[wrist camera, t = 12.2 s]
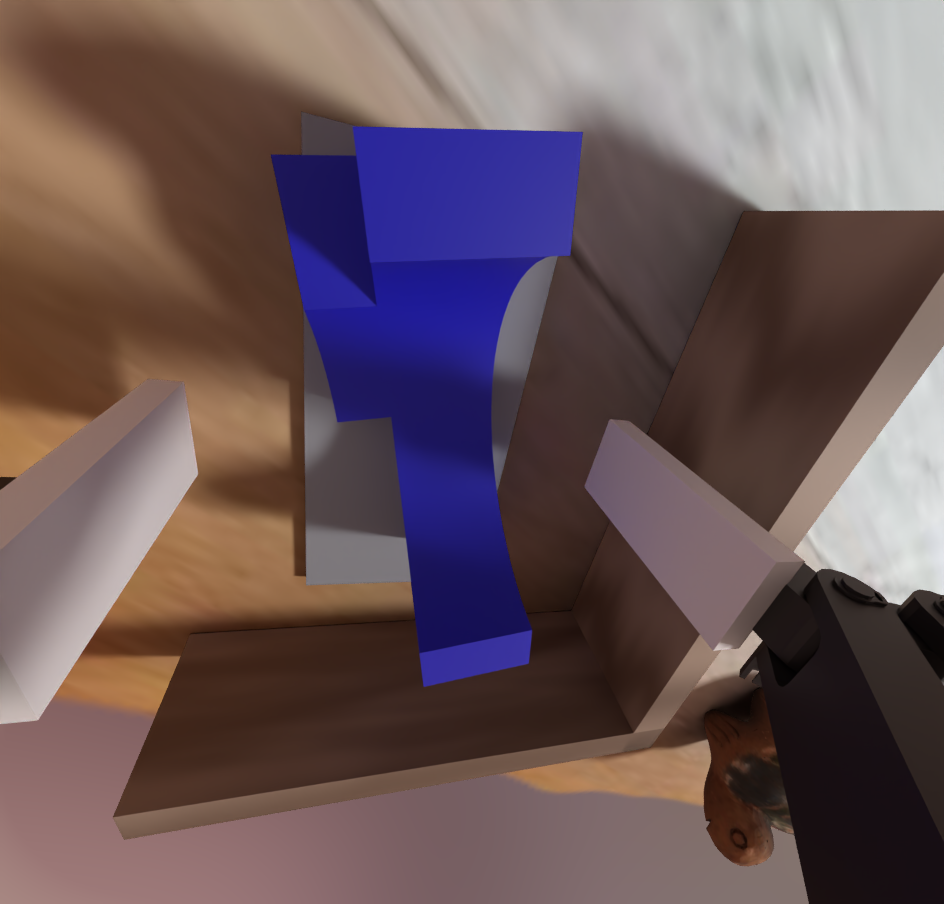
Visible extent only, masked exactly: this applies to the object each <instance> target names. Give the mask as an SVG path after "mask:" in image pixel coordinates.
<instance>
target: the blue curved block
mask: <svg viewBox="0 0 944 904" xmlns="http://www.w3.org/2000/svg"><path fill="white" fill-rule="evenodd" d="M353 134H354V141H355V149H356V156H353V155H271V158H272V163H273V167H274V172H275V177H276V181H277V186H278V191H279V196H280V200H281V205H282V210H283V214H284V219H285V224H286V228H287V233H288V238H289V242H290V247H291V252H292V256H293V261H294V266H295V270H296V275H297V280H298V284H299V289H300V294H301V298H302V303H303V308H304V311H305V314H306V316H307V318H308V321H309V323H310V326H311V328H312V331H313V334H314V337H315V339H316V342H317V345H318V348H319V351H320V355H321V358H322V361H323V365H324V368H325V372H326V376H327V379H328V383H329V387H330V391H331V396H332V400H333V404H334V409H335V413H336V418H337V423H338V422H347V421H357V420H367V419H377V418H387V417H391V420H392V428H393V437H394V445H395V453H396V461H397V469H398V477H399V486H400V494H401V502H402V510H403V519H404V527H405V535H406V544H407V552H408V560H409V569H410V577H411V586H412V594H413V603H414V611H415V620H416V628H417V637H418V646H419V654H420V662H421V670H422V678H423V686H424V687H426V686H430V685H435V684H439V683H444V682H448V681H453V680H457V679H462V678H466V677H471V676H475V675H480V674H484V673H489V672H493V671H498V670H502V669H507V668H511V667H516V666H520V665H525V664H529V656H530V647H531V637H532V628H531V626H530V623H529V620H528V618H527V615H526V612H525V609H524V606H523V603H522V600H521V597H520V594H519V590H518V587H517V584H516V580H515V577H514V573H513V570H512V566H511V562H510V558H509V554H508V549H507V545H506V540H505V536H504V531H503V526H502V521H501V515H500V509H499V503H498V496H497V489H496V481H495V472H494V461H493V448H492V422H491V406H492V382H493V370H494V362H495V354H496V348H497V342H498V338H499V333H500V328H501V325H502V321H503V318H504V314H505V311H506V309H507V306H508V303H509V301H510V298H511V296H512V294H513V292H514V290H515V288H516V286H517V285H518V283H519V281H520V280H521V278H522V277H523V276H524V275H525V273H526V272H527V271H528V270H529V269H530V268H531V267H532V266H533V265H535V264H536V263H537V262H539V261H541V260H542V259H544V258H546V257H550V256H570V253H571V243H572V233H573V223H574V213H575V203H576V194H577V184H578V174H579V164H580V154H581V144H582V135H583V132H562V131H520V130H478V129H437V128H395V127H354V126H353Z"/></svg>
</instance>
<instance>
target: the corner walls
mask: <svg viewBox="0 0 944 904" xmlns="http://www.w3.org/2000/svg"><path fill="white" fill-rule="evenodd" d="M943 346H944V211H744V212H743V214H742V216H741V219H740V221H739V223H738V226H737V228H736V230H735V233H734V235H733V237H732V240H731V242H730V244H729V246H728V249H727V251H726V253H725V256H724V258H723V260H722V263H721V265H720V267H719V270H718V272H717V274H716V277H715V279H714V281H713V284H712V286H711V288H710V291H709V293H708V295H707V297H706V300H705V302H704V304H703V307H702V309H701V311H700V314H699V316H698V318H697V321H696V323H695V325H694V328H693V330H692V332H691V335H690V337H689V339H688V342H687V344H686V346H685V348H684V351H683V353H682V355H681V358H680V360H679V362H678V365H677V367H676V369H675V372H674V374H673V376H672V379H671V381H670V383H669V386H668V388H667V390H666V393H665V395H664V397H663V399H662V402H661V404H660V406H659V409H658V411H657V413H656V416H655V418H654V420H653V423H652V425H651V427H650V430H649V432H648V434H647V436H649V437H650V438H651V439H652V440H654V441H655V442H656V443H657V444H659V445H660V446H661V447H662V448H664V449H665V450H666V451H667V452H669V453H670V454H671V455H672V456H674V457H675V458H676V459H677V460H679V461H680V462H681V463H682V464H684V465H685V466H686V467H687V468H689V469H690V470H691V471H692V472H694V473H695V474H696V475H697V476H699V477H700V478H701V479H702V480H704V481H705V482H706V483H707V484H709V485H710V486H711V487H712V488H714V489H715V490H716V491H717V492H719V493H720V494H721V495H722V496H724V497H725V498H726V499H727V500H729V501H730V502H731V503H732V504H734V505H735V506H736V507H737V508H739V509H740V510H741V511H742V512H744V513H745V514H746V515H747V516H749V517H750V518H751V519H752V520H754V521H755V522H756V523H758V524H759V525H760V526H761V527H763V528H764V529H765V530H766V531H768V532H769V533H770V534H771V535H773V536H774V537H775V538H776V539H778V540H779V541H780V542H781V543H783V544H784V545H785V546H786V547H788V548H789V549H790V550H791V551H794V550H795V549H796V547H797V546H798V544H799V543H800V542H801V540H802V539H803V538H804V536H805V535H806V533H807V532H808V531H809V529H810V528H811V527H812V525H813V524H814V522H815V521H816V520H817V518H818V517H819V516H820V514H821V513H822V512H823V510H824V509H825V507H826V506H827V505H828V503H829V502H830V501H831V499H832V498H833V496H834V495H835V494H836V492H837V491H838V490H839V488H840V487H841V485H842V484H843V483H844V481H845V480H846V479H847V477H848V476H849V475H850V473H851V472H852V470H853V469H854V468H855V466H856V465H857V464H858V462H859V461H860V459H861V458H862V457H863V455H864V454H865V453H866V451H867V450H868V448H869V447H870V446H871V444H872V443H873V442H874V440H875V439H876V437H877V436H878V435H879V433H880V432H881V431H882V429H883V428H884V427H885V425H886V424H887V422H888V421H889V420H890V418H891V417H892V416H893V414H894V413H895V411H896V410H897V409H898V407H899V406H900V405H901V403H902V402H903V400H904V399H905V398H906V396H907V395H908V394H909V392H910V391H911V390H912V388H913V387H914V385H915V384H916V383H917V381H918V380H919V379H920V377H921V376H922V374H923V373H924V372H925V370H926V369H927V368H928V366H929V365H930V363H931V362H932V361H933V359H934V358H935V357H936V355H937V354H938V353H939V351H940V350H941V348H942V347H943ZM526 615H527V618H528V620H529V623H530V626H531V628H532V637H531V647H530V656H529V664H525V665H520V666H516V667H511V668H507V669H502V670H498V671H493V672H489V673H484V674H480V675H475V676H471V677H466V678H462V679H457V680H453V681H448V682H444V683H439V684H435V685H430V686H426V687H424V686H423V678H422V670H421V662H420V654H419V646H418V637H417V628H416V620H412V621H396V622H379V623H363V624H347V625H330V626H314V627H297V628H281V629H265V630H248V631H232V632H215V633H199V634H190V636H189V638H188V641H187V643H186V645H185V648H184V650H183V652H182V655H181V657H180V660H179V662H178V664H177V667H176V669H175V671H174V674H173V676H172V678H171V681H170V683H169V686H168V688H167V690H166V693H165V695H164V697H163V700H162V702H161V704H160V707H159V709H158V712H157V714H156V716H155V719H154V721H153V724H152V726H151V728H150V731H149V733H148V735H147V738H146V740H145V742H144V745H143V747H142V749H141V752H140V754H139V757H138V759H137V761H136V764H135V766H134V769H133V771H132V773H131V776H130V778H129V780H128V783H127V785H126V788H125V790H124V792H123V794H122V797H121V799H120V802H119V804H118V806H117V809H116V811H115V813H114V816H113V819H114V821H115V823H116V825H117V827H118V829H119V831H120V833H121V834H122V837H123V838H124V840H125V839H131V838H137V837H142V836H147V835H154V834H159V833H165V832H171V831H177V830H182V829H188V828H194V827H199V826H205V825H211V824H216V823H222V822H228V821H234V820H239V819H245V818H251V817H256V816H262V815H268V814H273V813H279V812H285V811H291V810H296V809H301V808H308V807H313V806H319V805H325V804H330V803H336V802H342V801H347V800H353V799H359V798H365V797H370V796H376V795H381V794H387V793H393V792H398V791H405V790H410V789H416V788H422V787H427V786H433V785H439V784H444V783H450V782H456V781H461V780H467V779H473V778H479V777H484V776H490V775H496V774H501V773H507V772H513V771H519V770H524V769H530V768H536V767H541V766H547V765H553V764H558V763H564V762H570V761H576V760H581V759H587V758H593V757H598V756H604V755H610V754H615V753H621V752H627V751H633V750H638V749H644V748H650V747H651V746H652V745H653V743H654V742H655V740H656V739H657V738H658V736H659V735H660V734H661V732H662V731H663V729H664V728H665V727H666V725H667V724H668V723H669V721H670V720H671V718H672V717H673V716H674V714H675V713H676V712H677V710H678V709H679V708H680V706H681V705H682V703H683V702H684V701H685V699H686V698H687V697H688V695H689V694H690V692H691V691H692V690H693V688H694V687H695V686H696V684H697V683H698V681H699V680H700V679H701V677H702V676H703V675H704V673H705V672H706V671H707V669H708V668H709V666H710V665H711V664H712V662H713V661H714V660H715V658H716V657H717V655H718V654H719V653H720V651H721V650H717V651H713V650H712V649H711V648H710V646H709V645H708V644H707V643H706V641H705V640H704V639H703V637H702V636H701V635H700V634H699V632H698V631H697V630H696V629H695V627H694V626H693V625H692V623H691V622H690V621H689V620H688V618H687V617H686V616H685V615H684V613H683V612H682V611H681V609H680V608H679V607H678V606H677V604H676V603H675V602H674V601H673V599H672V598H671V597H670V595H669V594H668V593H667V592H666V590H665V589H664V588H663V587H662V585H661V584H660V583H659V581H658V580H657V579H656V578H655V576H654V575H653V574H652V573H651V571H650V570H649V569H648V567H647V566H646V565H645V564H644V562H643V561H642V560H641V559H640V557H639V556H638V555H637V553H636V552H635V551H634V550H633V548H632V547H631V546H630V545H629V543H628V542H627V541H626V540H625V538H624V537H623V536H622V534H621V533H620V532H619V531H618V529H617V528H616V527H615V526H614V524H613V523H612V522H611V520H610V522H609V525H608V527H607V529H606V532H605V534H604V536H603V539H602V541H601V543H600V546H599V548H598V550H597V552H596V555H595V557H594V559H593V562H592V564H591V566H590V569H589V571H588V573H587V576H586V578H585V580H584V583H583V585H582V587H581V590H580V592H579V594H578V597H577V599H576V601H575V603H574V606H573V608H572V610H571V611H560V612H544V613H527V614H526Z"/></svg>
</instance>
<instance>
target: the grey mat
mask: <svg viewBox="0 0 944 904" xmlns="http://www.w3.org/2000/svg"><path fill="white" fill-rule="evenodd" d="M353 126H354V125H350V124H346V123H342V122H339V121H335V120H331V119H327V118H324V117H320V116H316V115H312V114H308V113H305V112H301V128H302V155H353V156H356V149H355V141H354V134H353ZM354 127H358V126H354ZM557 257H558V256H550V257H546V258H544V259H542V260H541V261H539V262H537V263H536V264H535V265H533V266H532V267H531V268H530V269H529V270H528V271H527V272H526V273H525V275H524V276H523V277H522V278H521V280H520V281H519V283H518V285H517V286H516V288H515V290H514V292H513V294H512V296H511V298H510V301H509V303H508V306H507V309H506V311H505V314H504V318H503V321H502V325H501V328H500V333H499V338H498V342H497V348H496V354H495V362H494V370H493V382H492V406H491V422H492V448H493V461H494V472H495V481H496V489H497V491H498V487H499V483H500V479H501V475H502V472H503V468H504V464H505V460H506V456H507V452H508V448H509V444H510V440H511V437H512V433H513V429H514V425H515V421H516V417H517V413H518V409H519V405H520V402H521V398H522V394H523V390H524V386H525V382H526V378H527V374H528V370H529V366H530V363H531V359H532V355H533V351H534V347H535V343H536V339H537V335H538V331H539V328H540V324H541V320H542V316H543V312H544V308H545V304H546V300H547V296H548V293H549V289H550V285H551V281H552V277H553V273H554V269H555V265H556V261H557ZM303 321H304V417H305V514H306V585H326V584H355V583H384V582H411V577H410V569H409V560H408V552H407V544H406V535H405V527H404V519H403V510H402V502H401V494H400V486H399V477H398V469H397V461H396V453H395V445H394V437H393V428H392V420H391V417H387V418H377V419H367V420H357V421H347V422H338V423H337V418H336V413H335V409H334V404H333V400H332V396H331V391H330V387H329V383H328V379H327V376H326V372H325V368H324V365H323V361H322V358H321V355H320V351H319V348H318V345H317V342H316V339H315V337H314V334H313V331H312V328H311V326H310V323H309V321H308V318H307V316H306V314H305V311H304V308H303Z"/></svg>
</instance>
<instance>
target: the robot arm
mask: <svg viewBox="0 0 944 904" xmlns="http://www.w3.org/2000/svg"><path fill="white" fill-rule="evenodd" d="M197 475H198V470H197V463H196V457H195V450H194V444H193V438H192V431H191V425H190V418H189V412H188V405H187V399H186V393H185V386H184V382H180V381H168V380H157V379H147V380H146V381H144V382H143V383H142V384H140V385H139V386H138V387H136V388H135V389H134V390H132V391H131V392H130V393H128V394H127V395H126V396H124V397H123V398H122V399H120V400H119V401H118V402H116V403H115V404H114V405H112V406H111V407H110V408H109V409H107V410H106V411H105V412H103V413H102V414H101V415H99V416H98V417H97V418H95V419H94V420H93V421H91V422H90V423H89V424H87V425H86V426H85V427H83V428H82V429H81V430H79V431H78V432H77V433H75V434H74V435H73V436H71V437H70V438H69V439H67V440H66V441H65V442H63V443H62V444H61V445H59V446H58V447H57V448H55V449H54V450H53V451H51V452H50V453H49V454H48V455H46V456H45V457H44V458H42V459H41V460H40V461H38V462H37V463H36V464H34V465H33V466H32V467H30V468H29V469H28V470H26V471H25V472H24V473H22V474H21V475H20V476H18V477H0V724H5V723H15V722H24V721H34V720H38V719H39V718H40V716H41V715H42V713H43V711H44V710H45V708H46V707H47V705H48V704H49V702H50V701H51V699H52V698H53V696H54V695H55V693H56V692H57V690H58V689H59V687H60V686H61V684H62V682H63V681H64V679H65V678H66V676H67V675H68V673H69V672H70V670H71V669H72V667H73V666H74V664H75V662H76V661H77V659H78V658H79V656H80V655H81V653H82V652H83V650H84V649H85V647H86V646H87V644H88V642H89V641H90V639H91V638H92V636H93V635H94V633H95V632H96V630H97V629H98V627H99V626H100V624H101V623H102V621H103V619H104V618H105V616H106V615H107V613H108V612H109V610H110V609H111V607H112V606H113V604H114V603H115V601H116V599H117V598H118V596H119V595H120V593H121V592H122V590H123V589H124V587H125V586H126V584H127V583H128V581H129V579H130V578H131V576H132V575H133V573H134V572H135V570H136V569H137V567H138V566H139V564H140V563H141V561H142V560H143V558H144V556H145V555H146V553H147V552H148V550H149V549H150V547H151V546H152V544H153V543H154V541H155V540H156V538H157V536H158V535H159V533H160V532H161V530H162V529H163V527H164V526H165V524H166V523H167V521H168V520H169V518H170V516H171V515H172V513H173V512H174V510H175V509H176V507H177V506H178V504H179V503H180V501H181V500H182V498H183V497H184V495H185V493H186V492H187V490H188V489H189V487H190V486H191V484H192V483H193V481H194V480H195V478H196V477H197ZM584 487H585V489H586V490H587V491H588V492H589V494H590V495H591V496H592V498H593V499H594V500H595V501H596V503H597V504H598V505H599V506H600V508H601V509H602V510H603V512H604V513H605V514H606V515H607V517H608V518H609V519H610V520H611V522H612V523H613V524H614V526H615V527H616V528H617V529H618V531H619V532H620V533H621V534H622V536H623V537H624V538H625V540H626V541H627V542H628V543H629V545H630V546H631V547H632V548H633V550H634V551H635V552H636V553H637V555H638V556H639V557H640V559H641V560H642V561H643V562H644V564H645V565H646V566H647V567H648V569H649V570H650V571H651V573H652V574H653V575H654V576H655V578H656V579H657V580H658V581H659V583H660V584H661V585H662V587H663V588H664V589H665V590H666V592H667V593H668V594H669V595H670V597H671V598H672V599H673V601H674V602H675V603H676V604H677V606H678V607H679V608H680V609H681V611H682V612H683V613H684V615H685V616H686V617H687V618H688V620H689V621H690V622H691V623H692V625H693V626H694V627H695V629H696V630H697V631H698V632H699V634H700V635H701V636H702V637H703V639H704V640H705V641H706V643H707V644H708V645H709V646H710V648H711V649H712V650H713V651H717V650H727V649H736V648H740V646H741V645H742V644H743V642H744V641H745V640H746V638H747V637H748V636H749V634H750V633H751V632H752V630H753V631H754V632H755V633H756V634H757V635H758V636H759V637H760V638H761V639H762V640H763V641H762V642H761V644H760V645H759V646H758V648H757V649H756V650H755V651H754V653H753V654H752V655H751V656H750V658H749V659H748V660H747V661H746V663H745V664H744V665H743V667H742V668H741V669H740V676H739V677H742V678H744V679H745V678H746V677H747V675H748V674H749V673H750V672H751V670H758V671H759V673H758V674H757V675H756V677H755V678H754V679H753V680H752V683H754V684H757V685H759V686H761V687H763V692H764V696H765V701H766V706H767V710H768V715H769V720H770V724H771V729H772V733H773V738H774V743H775V747H776V752H777V757H778V761H779V766H780V771H781V775H782V780H783V785H784V789H785V794H786V799H787V803H788V808H789V812H790V817H791V822H792V826H793V831H794V836H795V840H796V845H797V850H798V854H799V859H800V864H801V868H802V872H803V877H804V882H805V886H806V891H807V896H808V901H809V904H944V595H939V594H936V593H934V592H931V591H925V590H917V591H914V592H913V593H912V594H911V595H910V596H909V597H908V598H907V599H906V600H905V601H904V603H903V604H902V605H897V604H893V603H888V602H887V601H886V599H885V598H884V597H883V596H882V595H881V594H880V593H879V592H877V591H875V590H874V589H872V588H871V587H869V586H868V585H866V584H864V583H863V582H861V581H859V580H858V579H856V578H854V577H851V576H849V575H847V574H845V573H842V572H839V571H835V570H832V569H821V570H819V571H818V572H817V573H816V572H815V571H814V570H812V569H811V568H810V567H809V566H807V565H806V564H805V563H804V562H805V561H804V560H803V559H801V558H800V557H799V556H798V555H796V554H795V553H794V552H793V551H791V550H790V549H789V548H788V547H786V546H785V545H784V544H783V543H781V542H780V541H779V540H778V539H776V538H775V537H774V536H773V535H771V534H770V533H769V532H768V531H766V530H765V529H764V528H763V527H761V526H760V525H759V524H758V523H756V522H755V521H754V520H752V519H751V518H750V517H749V516H747V515H746V514H745V513H744V512H742V511H741V510H740V509H739V508H737V507H736V506H735V505H734V504H732V503H731V502H730V501H729V500H727V499H726V498H725V497H724V496H722V495H721V494H720V493H719V492H717V491H716V490H715V489H714V488H712V487H711V486H710V485H709V484H707V483H706V482H705V481H704V480H702V479H701V478H700V477H699V476H697V475H696V474H695V473H694V472H692V471H691V470H690V469H689V468H687V467H686V466H685V465H684V464H682V463H681V462H680V461H679V460H677V459H676V458H675V457H674V456H672V455H671V454H670V453H669V452H667V451H666V450H665V449H664V448H662V447H661V446H660V445H659V444H657V443H656V442H655V441H654V440H652V439H651V438H650V437H649V436H647V435H646V434H645V433H644V432H642V431H641V430H640V429H639V428H637V427H636V426H635V425H634V424H632V423H631V422H630V421H625V420H613V419H610V420H609V422H608V425H607V428H606V430H605V433H604V436H603V438H602V441H601V444H600V446H599V449H598V452H597V454H596V457H595V460H594V462H593V465H592V468H591V470H590V473H589V476H588V478H587V481H586V484H585V486H584Z"/></svg>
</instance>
